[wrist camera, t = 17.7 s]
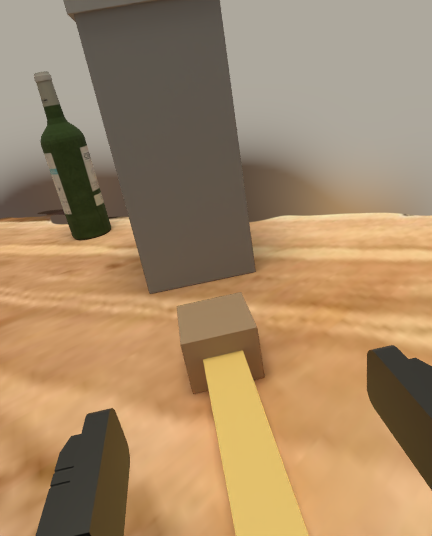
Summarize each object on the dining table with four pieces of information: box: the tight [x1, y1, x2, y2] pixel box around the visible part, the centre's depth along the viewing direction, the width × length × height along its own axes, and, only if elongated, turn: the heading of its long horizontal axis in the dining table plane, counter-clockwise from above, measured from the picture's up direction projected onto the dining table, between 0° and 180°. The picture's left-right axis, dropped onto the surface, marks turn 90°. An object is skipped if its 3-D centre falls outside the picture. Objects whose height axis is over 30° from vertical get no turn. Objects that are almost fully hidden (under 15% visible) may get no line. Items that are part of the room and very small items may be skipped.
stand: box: [64, 0, 256, 294], centre depth 49 cm, size 17×15×32 cm
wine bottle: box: [34, 72, 111, 240], centre depth 71 cm, size 8×8×30 cm
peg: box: [177, 292, 309, 536], centre depth 25 cm, size 21×6×5 cm, turn 9°
